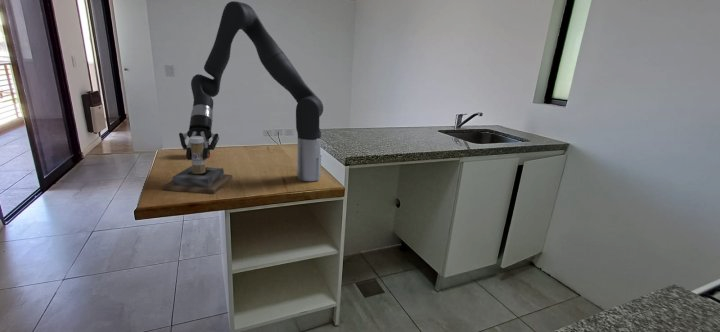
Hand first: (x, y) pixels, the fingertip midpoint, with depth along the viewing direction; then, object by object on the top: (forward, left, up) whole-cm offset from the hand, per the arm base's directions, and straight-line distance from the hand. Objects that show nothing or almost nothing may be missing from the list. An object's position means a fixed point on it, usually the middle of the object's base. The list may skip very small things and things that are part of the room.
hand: (196, 158), depth 120 cm
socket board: (0, -2, -10) cm, 10 cm away
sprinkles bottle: (0, -2, -6) cm, 6 cm away
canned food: (+16, -35, -11) cm, 40 cm away
